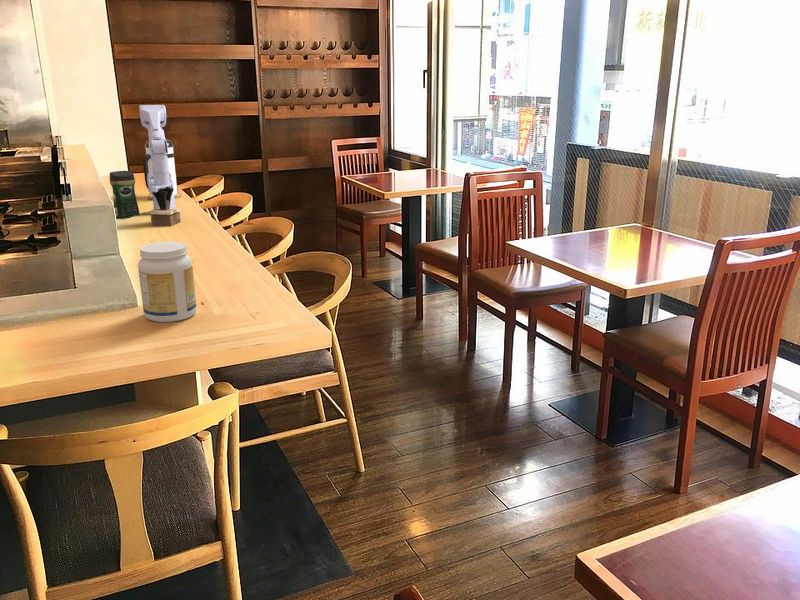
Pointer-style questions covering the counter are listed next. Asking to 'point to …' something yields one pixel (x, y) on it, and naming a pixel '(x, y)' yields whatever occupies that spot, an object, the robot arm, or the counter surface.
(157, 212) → the lid
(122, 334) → the counter surface
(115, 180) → the coffee jar
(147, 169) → the coffee press
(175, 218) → the box
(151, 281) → the supplement tub
